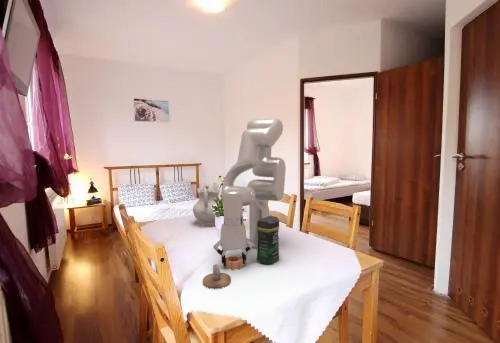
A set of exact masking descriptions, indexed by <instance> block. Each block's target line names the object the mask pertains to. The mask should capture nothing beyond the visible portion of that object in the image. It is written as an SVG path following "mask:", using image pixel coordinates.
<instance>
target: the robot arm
mask: <svg viewBox="0 0 500 343" xmlns="http://www.w3.org/2000/svg"><path fill="white" fill-rule="evenodd" d="M246 124H247V125H246V129H245V130H244V131H243V132H242V134H241V140H240V146H239V149H238V150H239V151H238V155H237V156H238V157H237V161H236V163H235V164H233V165H232V166H231V167H230V168H229V170H228V171H227V173H226V174H225V176H224V179H223V183H222V187H221V199H222V201H223V209H224V216H223V223H221V228H220V239H219V240H218V241H217V242H216V243H215V244H214V245H213V249H214V250H215V252H217V254H219V255H220V256H221V264H223V267H225V266H226V254H227V252H228V251H236V250H241V257H242V258H243V265H246V262H247V254H248V252H249V251H250V250H251V249H252V248H253V249H258V229H257V223H258V220H260V219H263V218H265V217H268V216H270V207H269V204H268V203H267V201H270V202H271V201H272V202H273V201H274V202H279V201H281V200H283V197H284V193H285V181H286V163H285V160H284V159H283V158H282V157H276V156H274V157H272V147H273V146H274V145H275V144H276V143H277V141H278V140H279V138H280V137H281V135H283V134H282V133H283V131H284V124H283V122H282V120H281V119H279V118H258V119H252V120H249V121H248V122H247V123H246ZM249 170H252V171H251V172H252V173H253V175H254V176H256V177H262V178H273V180H272V179H259V178H258V179H257V178H256V179H252V180H250V181H249V182H248V184H247V186H240V185H239V186H238V185H235V184H234V183H235V181H236V179H237V178H238V176H240V175H241V174H243V173H245V172H247V171H249ZM244 206H248V208H249V210H248V211H249V212H248V213H249V220H248V221H249V238H248V237H247V232H246V226H245V223H244V222H245V221H247V217H244V214H243V209H244V208H243V207H244ZM278 240H280V237H279V235H278ZM219 247H221V249H220V248H219Z"/></svg>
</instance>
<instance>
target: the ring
mask: <svg viewBox="0 0 500 343" xmlns="http://www.w3.org/2000/svg"><path fill="white" fill-rule="evenodd" d="M225 257H226V256H225ZM224 267H225V269H226V268H227V270H229V269H231V270H230V271H235V270H234V269H238V268H239V270H240V268H241V267H242V268H243V267H244V264H243V258H242V255H237V254H236V255H235V254H234V255H228V256H227V257H226V266H224ZM242 268H241V269H242Z"/></svg>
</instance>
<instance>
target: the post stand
mask: <svg viewBox="0 0 500 343" xmlns="http://www.w3.org/2000/svg"><path fill="white" fill-rule="evenodd" d="M212 270H213V272H212V273H209V274H206V275H205V276H204V277H203V279H202V284H203V286H204V287H205V286H206V287H205V288H207V287H208V289H210V288H214V289H213V290H216V289H215V288H220V289H223V288H222V287H224V288H226V287H228V286H230V284H231V283H232V276H230V275H229V274H228V273H226V272H225V273H224V272H221V264H219V263H218V264H217V263H216V264H213V265H212ZM227 285H228V286H227ZM225 286H226V287H225Z"/></svg>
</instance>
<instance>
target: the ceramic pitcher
mask: <svg viewBox="0 0 500 343" xmlns="http://www.w3.org/2000/svg"><path fill="white" fill-rule="evenodd" d="M220 191H221V188H220V186H219V184H218V183H217V182H213V183H212V185H210V184H207V183H203V184H201V186H200V188H199V187H198V188H196V192H197V194H198V200H197V202H196V203H195V204H194V205H193V207H192V212H193V216H194V217H195V219H197V221H199V222H200V223H199V225H201V226H204V227H215V226H216V225H215V215H214V213H213V208H212V205H215V203H214V201H213V198H214V197H218V198H219V194H220Z"/></svg>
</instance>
